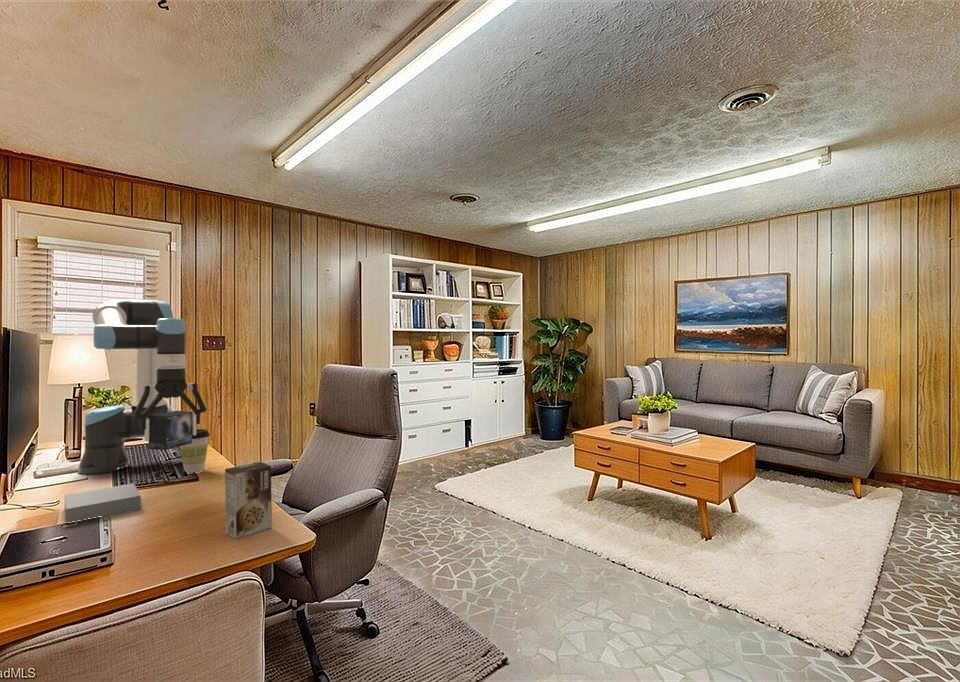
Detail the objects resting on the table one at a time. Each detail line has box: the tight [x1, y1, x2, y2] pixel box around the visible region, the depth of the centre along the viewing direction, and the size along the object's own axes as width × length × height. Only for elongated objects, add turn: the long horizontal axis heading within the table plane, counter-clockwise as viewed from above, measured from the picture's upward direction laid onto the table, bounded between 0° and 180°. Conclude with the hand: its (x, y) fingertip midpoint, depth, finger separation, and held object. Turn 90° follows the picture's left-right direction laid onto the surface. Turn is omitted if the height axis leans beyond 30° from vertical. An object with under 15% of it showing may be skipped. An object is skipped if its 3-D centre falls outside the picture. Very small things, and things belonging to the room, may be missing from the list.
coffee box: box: [224, 461, 273, 539], centre depth 118 cm, size 9×6×16 cm
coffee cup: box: [179, 428, 210, 473], centre depth 172 cm, size 10×10×15 cm
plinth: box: [64, 483, 142, 524], centre depth 134 cm, size 16×16×4 cm
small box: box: [148, 410, 193, 451], centre depth 146 cm, size 11×6×10 cm, turn 169°
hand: (171, 437), depth 146 cm, fingers closed on small box, 12 cm apart
